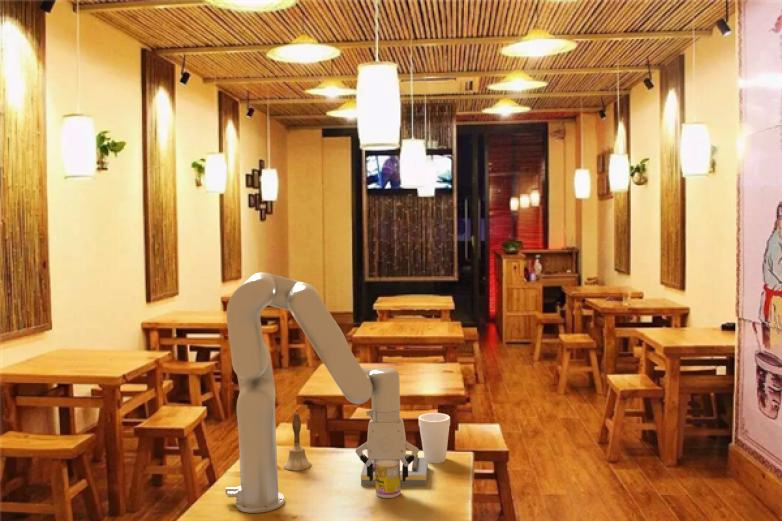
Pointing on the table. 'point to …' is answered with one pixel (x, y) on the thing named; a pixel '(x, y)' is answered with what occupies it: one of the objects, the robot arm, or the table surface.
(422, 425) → the foam cup
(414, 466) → the bay rails
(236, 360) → the robot arm
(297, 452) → the hand bell
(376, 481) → the supplement bottle
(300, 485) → the table surface
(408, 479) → the loading dock
